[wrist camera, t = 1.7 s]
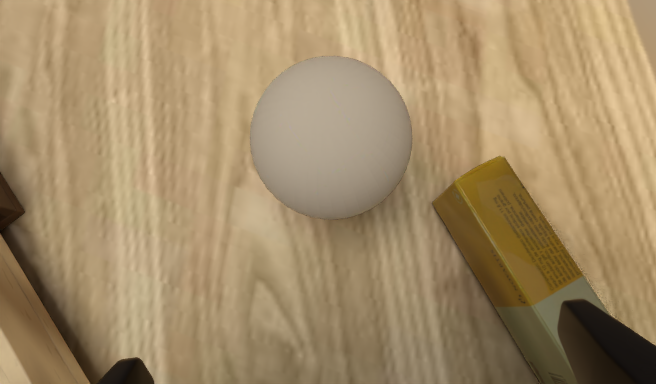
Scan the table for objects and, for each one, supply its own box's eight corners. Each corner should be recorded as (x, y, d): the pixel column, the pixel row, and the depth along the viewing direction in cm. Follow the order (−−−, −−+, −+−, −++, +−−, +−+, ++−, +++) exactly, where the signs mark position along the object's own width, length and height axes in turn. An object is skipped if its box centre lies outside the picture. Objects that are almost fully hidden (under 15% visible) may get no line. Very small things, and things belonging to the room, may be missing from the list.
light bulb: (338, 109, 24) (316, -14, 14) (423, 178, 23) (462, 95, 13) (264, 188, 23) (189, 118, 14) (347, 264, 22) (328, 244, 12)
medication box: (619, 403, 20) (691, 428, 16) (570, 435, 20) (630, 468, 16) (473, 176, 22) (504, 149, 18) (427, 201, 22) (449, 179, 18)
